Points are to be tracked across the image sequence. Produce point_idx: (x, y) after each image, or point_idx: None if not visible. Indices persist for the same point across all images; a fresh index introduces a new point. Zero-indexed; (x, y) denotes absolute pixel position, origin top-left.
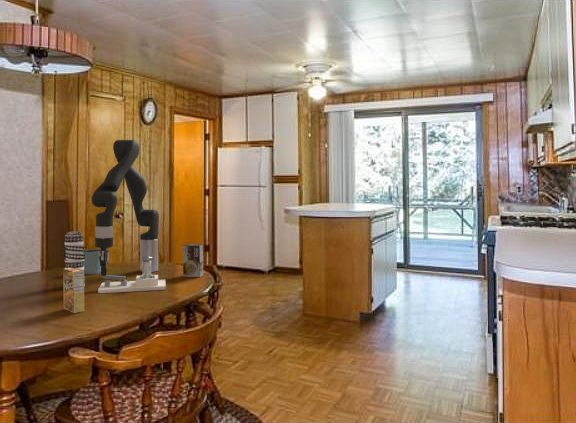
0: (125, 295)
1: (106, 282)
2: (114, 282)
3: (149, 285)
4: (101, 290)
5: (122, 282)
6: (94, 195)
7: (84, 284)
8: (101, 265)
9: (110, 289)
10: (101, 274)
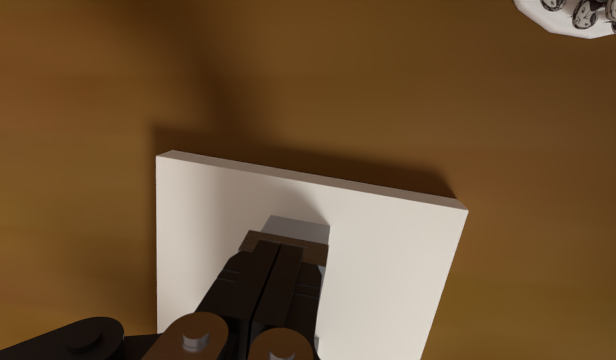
0: (73, 301)
1: None
2: (413, 303)
3: None
4: (161, 180)
5: None
6: None
7: (587, 29)
8: (67, 354)
9: (158, 244)
10: (259, 246)
